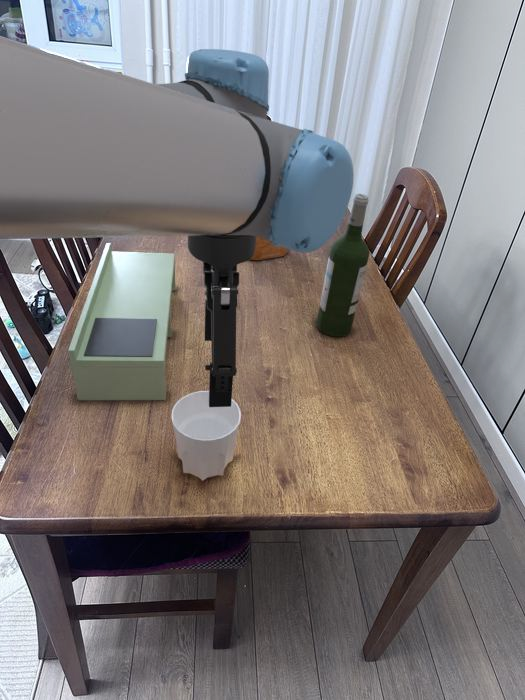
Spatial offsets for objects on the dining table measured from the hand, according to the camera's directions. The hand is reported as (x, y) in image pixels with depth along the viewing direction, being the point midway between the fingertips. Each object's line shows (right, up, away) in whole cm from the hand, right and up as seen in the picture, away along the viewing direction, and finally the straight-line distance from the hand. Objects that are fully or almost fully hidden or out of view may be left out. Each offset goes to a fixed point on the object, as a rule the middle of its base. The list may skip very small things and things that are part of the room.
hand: (216, 369), depth 65 cm
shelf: (-20, +6, +35) cm, 41 cm away
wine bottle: (+22, +8, +44) cm, 50 cm away
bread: (+2, +35, +76) cm, 84 cm away
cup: (-3, -15, +11) cm, 19 cm away
